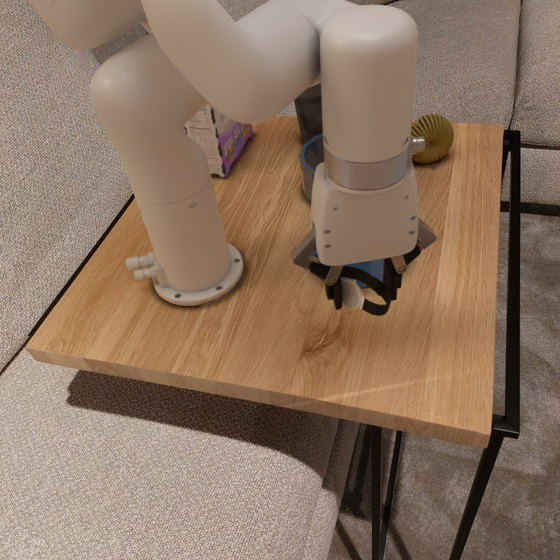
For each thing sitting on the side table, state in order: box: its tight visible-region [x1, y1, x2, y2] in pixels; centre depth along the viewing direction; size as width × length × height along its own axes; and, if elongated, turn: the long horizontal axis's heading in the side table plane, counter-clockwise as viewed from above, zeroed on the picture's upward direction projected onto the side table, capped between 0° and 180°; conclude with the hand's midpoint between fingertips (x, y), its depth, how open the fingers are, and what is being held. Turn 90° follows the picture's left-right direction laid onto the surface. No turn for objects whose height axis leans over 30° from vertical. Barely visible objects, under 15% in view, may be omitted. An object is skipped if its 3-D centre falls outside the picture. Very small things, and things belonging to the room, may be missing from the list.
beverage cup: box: [293, 84, 323, 144], centre depth 97 cm, size 7×7×20 cm
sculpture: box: [411, 113, 455, 164], centre depth 92 cm, size 8×4×8 cm, turn 101°
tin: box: [298, 133, 324, 202], centre depth 90 cm, size 13×13×6 cm
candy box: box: [184, 103, 254, 178], centre depth 97 cm, size 14×6×16 cm, turn 162°
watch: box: [339, 266, 393, 317], centre depth 64 cm, size 8×5×4 cm, turn 37°
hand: (362, 294), depth 65 cm, fingers closed on watch, 5 cm apart
